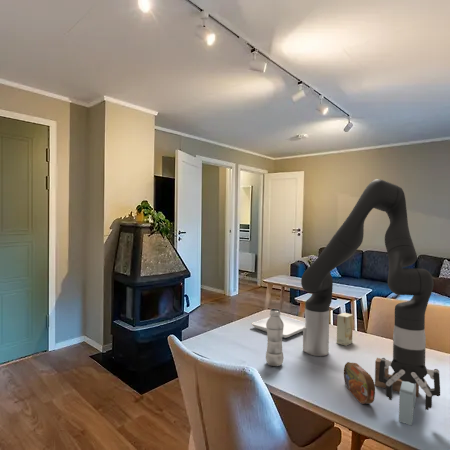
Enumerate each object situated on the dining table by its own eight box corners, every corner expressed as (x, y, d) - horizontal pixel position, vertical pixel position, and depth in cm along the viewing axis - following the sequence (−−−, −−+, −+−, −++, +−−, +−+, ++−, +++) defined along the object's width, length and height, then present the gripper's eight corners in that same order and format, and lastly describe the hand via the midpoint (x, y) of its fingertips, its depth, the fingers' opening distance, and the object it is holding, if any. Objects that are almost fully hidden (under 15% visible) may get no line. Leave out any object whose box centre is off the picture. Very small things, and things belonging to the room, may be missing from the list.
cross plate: (411, 425, 86) (412, 395, 86) (398, 421, 88) (399, 391, 87) (415, 400, 98) (416, 373, 97) (404, 397, 99) (404, 371, 99)
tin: (342, 383, 108) (343, 357, 107) (351, 382, 108) (352, 357, 108) (366, 410, 93) (366, 380, 92) (376, 409, 93) (377, 380, 93)
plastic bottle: (284, 362, 123) (285, 308, 122) (281, 370, 116) (282, 313, 116) (267, 359, 125) (268, 306, 124) (263, 367, 118) (264, 311, 118)
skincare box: (345, 346, 138) (346, 317, 137) (336, 343, 141) (336, 315, 141) (352, 342, 142) (353, 314, 142) (343, 339, 145) (343, 312, 145)
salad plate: (286, 342, 143) (286, 334, 143) (250, 329, 158) (250, 322, 158) (313, 331, 157) (313, 323, 157) (278, 320, 173) (278, 313, 172)
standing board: (374, 385, 106) (375, 361, 106) (376, 381, 108) (377, 357, 108) (418, 397, 99) (418, 371, 99) (418, 392, 102) (419, 367, 102)
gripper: (440, 344, 87) (439, 405, 88) (381, 333, 95) (381, 389, 95) (440, 354, 81) (439, 419, 81) (377, 342, 89) (376, 401, 89)
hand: (408, 403), depth 88 cm, fingers open, 8 cm apart
